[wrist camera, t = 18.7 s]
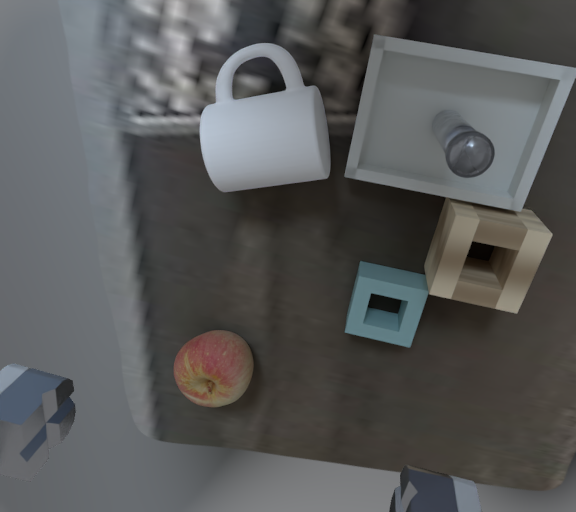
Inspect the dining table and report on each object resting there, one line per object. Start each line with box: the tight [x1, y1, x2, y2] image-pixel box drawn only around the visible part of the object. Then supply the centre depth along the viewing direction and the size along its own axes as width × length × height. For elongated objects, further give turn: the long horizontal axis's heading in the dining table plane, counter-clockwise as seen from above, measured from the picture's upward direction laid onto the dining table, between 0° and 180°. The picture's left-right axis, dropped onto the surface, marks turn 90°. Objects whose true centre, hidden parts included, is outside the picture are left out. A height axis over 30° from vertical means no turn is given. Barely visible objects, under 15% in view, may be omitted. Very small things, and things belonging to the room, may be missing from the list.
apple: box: [174, 330, 254, 407], centre depth 54 cm, size 9×9×8 cm
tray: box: [344, 34, 576, 212], centre depth 40 cm, size 12×16×3 cm
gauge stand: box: [345, 261, 429, 347], centre depth 49 cm, size 7×7×4 cm
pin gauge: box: [432, 110, 495, 178], centre depth 36 cm, size 3×3×12 cm
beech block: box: [424, 197, 553, 314], centre depth 43 cm, size 8×8×6 cm
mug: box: [200, 43, 331, 192], centre depth 41 cm, size 12×10×8 cm
